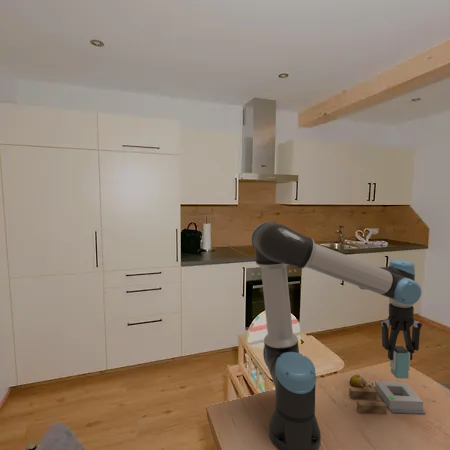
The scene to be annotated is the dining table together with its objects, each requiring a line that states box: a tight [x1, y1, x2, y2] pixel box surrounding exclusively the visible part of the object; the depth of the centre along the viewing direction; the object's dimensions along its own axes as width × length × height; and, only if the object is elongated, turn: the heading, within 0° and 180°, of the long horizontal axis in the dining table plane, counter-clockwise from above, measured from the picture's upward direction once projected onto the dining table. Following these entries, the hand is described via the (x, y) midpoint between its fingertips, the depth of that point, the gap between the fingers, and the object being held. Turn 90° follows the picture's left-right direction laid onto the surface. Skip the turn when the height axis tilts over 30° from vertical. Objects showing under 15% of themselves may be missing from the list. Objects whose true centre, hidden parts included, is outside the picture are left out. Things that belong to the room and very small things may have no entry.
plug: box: [390, 345, 410, 380], centre depth 104 cm, size 4×4×10 cm
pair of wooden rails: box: [348, 387, 388, 415], centre depth 102 cm, size 9×9×3 cm
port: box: [372, 380, 427, 416], centre depth 105 cm, size 11×14×4 cm
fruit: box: [349, 374, 374, 388], centre depth 113 cm, size 8×8×4 cm
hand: (399, 368), depth 104 cm, fingers closed on plug, 4 cm apart
